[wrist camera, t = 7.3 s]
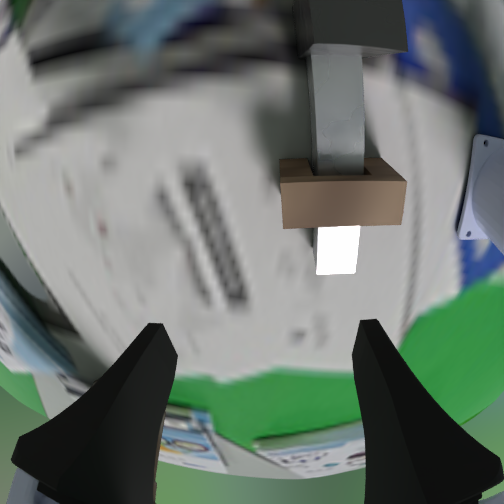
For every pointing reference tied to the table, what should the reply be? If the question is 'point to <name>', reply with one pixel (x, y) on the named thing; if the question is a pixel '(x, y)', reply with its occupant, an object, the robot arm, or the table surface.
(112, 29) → the table surface
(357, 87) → the rod
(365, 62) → the table surface
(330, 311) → the table surface
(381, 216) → the tan rectangular collar
